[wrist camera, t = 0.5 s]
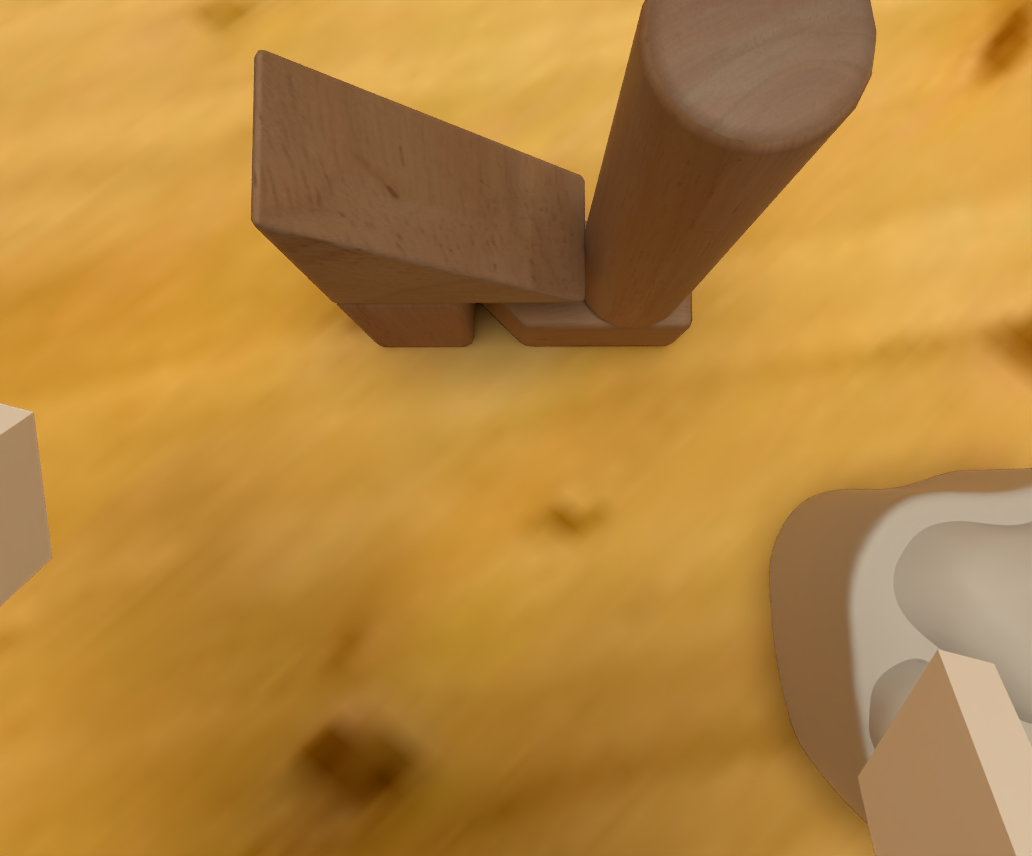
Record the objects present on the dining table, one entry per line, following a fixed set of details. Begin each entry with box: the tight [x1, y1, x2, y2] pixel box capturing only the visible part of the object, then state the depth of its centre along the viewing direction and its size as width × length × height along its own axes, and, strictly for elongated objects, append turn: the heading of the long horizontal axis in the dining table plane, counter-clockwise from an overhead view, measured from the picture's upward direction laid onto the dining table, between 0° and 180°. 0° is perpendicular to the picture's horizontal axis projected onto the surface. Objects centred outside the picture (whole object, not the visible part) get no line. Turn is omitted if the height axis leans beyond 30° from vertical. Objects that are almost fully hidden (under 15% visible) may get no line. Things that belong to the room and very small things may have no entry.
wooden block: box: [251, 0, 876, 347], centre depth 21 cm, size 4×11×18 cm, turn 90°
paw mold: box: [769, 468, 1032, 824], centre depth 25 cm, size 10×13×9 cm
